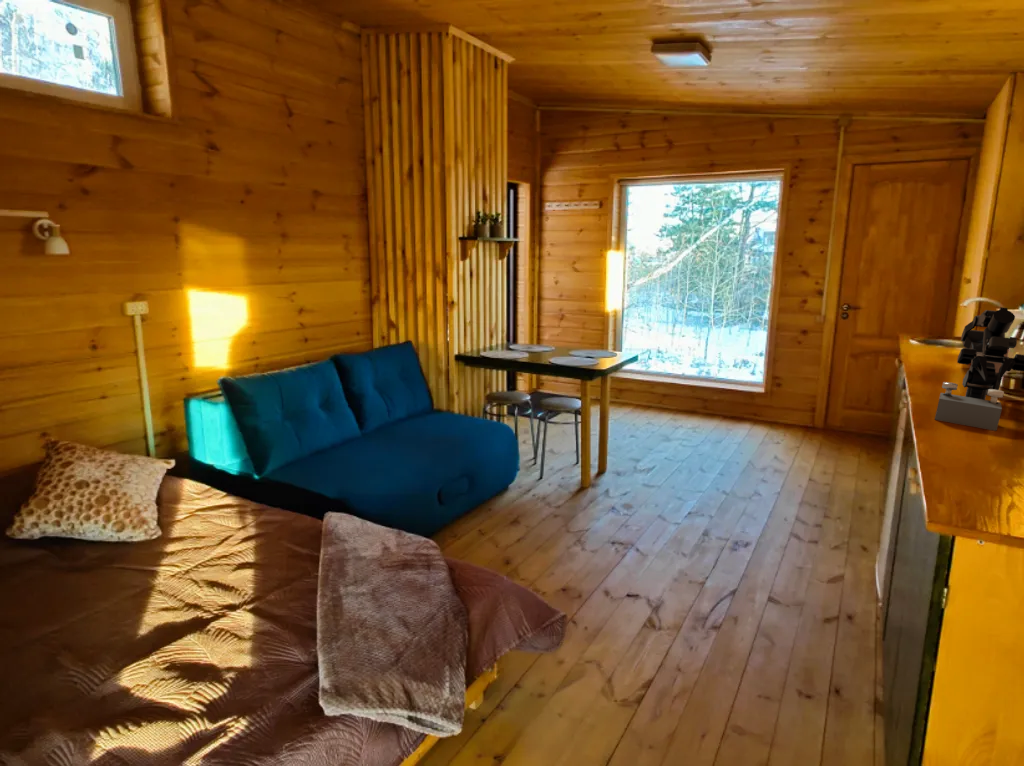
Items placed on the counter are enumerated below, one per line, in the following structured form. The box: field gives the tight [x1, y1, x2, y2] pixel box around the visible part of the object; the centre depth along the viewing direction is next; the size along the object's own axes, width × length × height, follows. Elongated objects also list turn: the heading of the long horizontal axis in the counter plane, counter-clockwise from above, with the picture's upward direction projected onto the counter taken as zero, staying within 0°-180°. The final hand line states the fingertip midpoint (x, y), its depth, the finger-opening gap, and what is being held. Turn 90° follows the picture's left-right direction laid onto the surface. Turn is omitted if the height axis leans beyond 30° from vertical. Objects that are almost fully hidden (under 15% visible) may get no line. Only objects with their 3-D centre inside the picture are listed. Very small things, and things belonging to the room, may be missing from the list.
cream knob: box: [986, 389, 1005, 404], centre depth 201 cm, size 4×4×4 cm
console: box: [934, 392, 1003, 432], centre depth 203 cm, size 10×16×7 cm, turn 55°
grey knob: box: [941, 381, 959, 396], centre depth 207 cm, size 4×4×4 cm
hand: (992, 380), depth 207 cm, fingers open, 3 cm apart
